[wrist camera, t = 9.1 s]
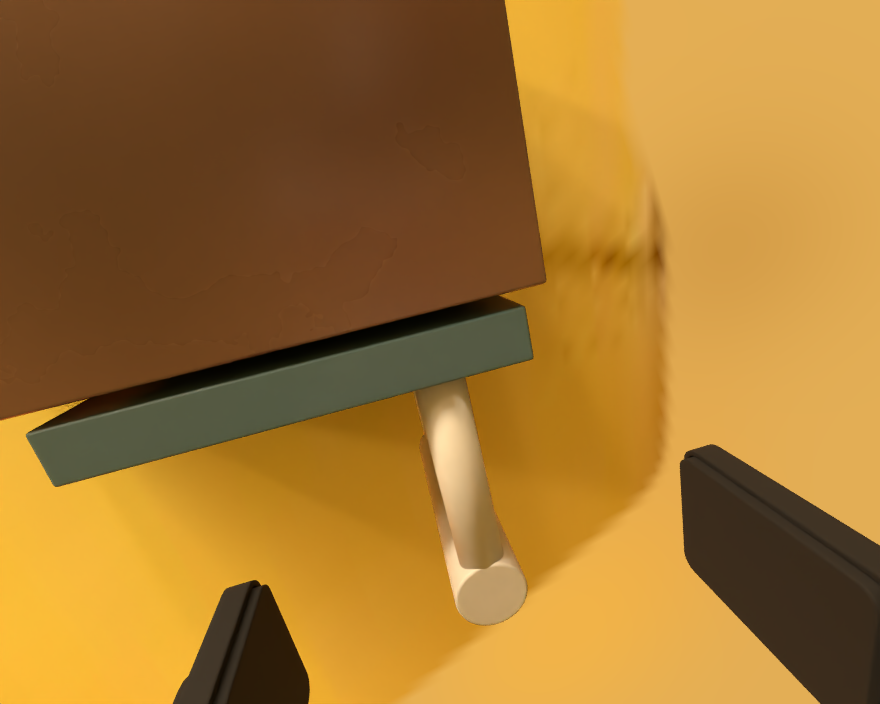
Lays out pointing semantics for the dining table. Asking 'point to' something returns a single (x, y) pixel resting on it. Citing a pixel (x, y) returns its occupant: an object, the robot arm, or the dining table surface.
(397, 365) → the sliding door
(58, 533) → the dining table surface
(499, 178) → the cabinet
